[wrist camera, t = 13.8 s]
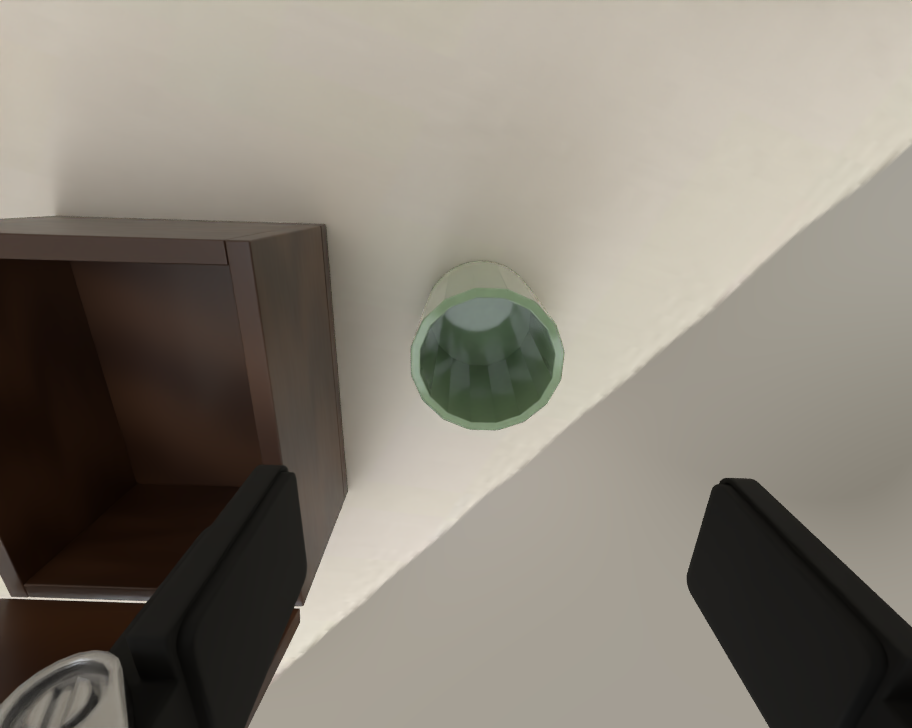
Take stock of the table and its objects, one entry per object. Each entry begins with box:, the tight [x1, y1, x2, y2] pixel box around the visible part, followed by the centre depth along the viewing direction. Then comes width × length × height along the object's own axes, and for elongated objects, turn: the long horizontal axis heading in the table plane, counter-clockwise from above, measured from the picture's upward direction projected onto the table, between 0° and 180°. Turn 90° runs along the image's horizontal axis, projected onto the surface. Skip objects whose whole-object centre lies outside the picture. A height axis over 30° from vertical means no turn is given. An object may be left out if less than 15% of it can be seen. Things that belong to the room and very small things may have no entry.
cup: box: [411, 261, 564, 430], centre depth 21 cm, size 6×6×8 cm
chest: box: [0, 216, 348, 606], centre depth 22 cm, size 18×15×9 cm
